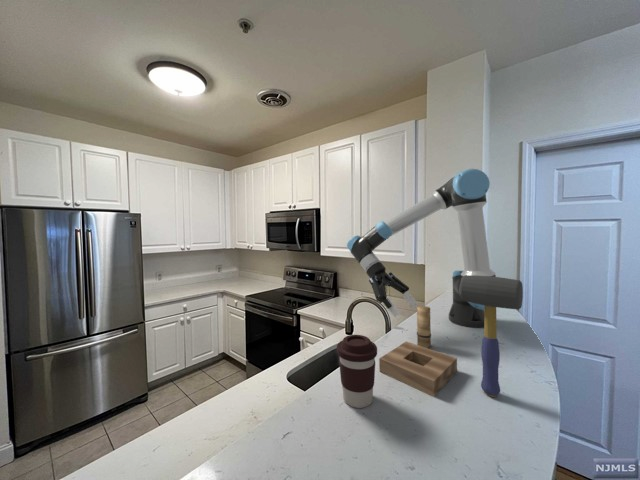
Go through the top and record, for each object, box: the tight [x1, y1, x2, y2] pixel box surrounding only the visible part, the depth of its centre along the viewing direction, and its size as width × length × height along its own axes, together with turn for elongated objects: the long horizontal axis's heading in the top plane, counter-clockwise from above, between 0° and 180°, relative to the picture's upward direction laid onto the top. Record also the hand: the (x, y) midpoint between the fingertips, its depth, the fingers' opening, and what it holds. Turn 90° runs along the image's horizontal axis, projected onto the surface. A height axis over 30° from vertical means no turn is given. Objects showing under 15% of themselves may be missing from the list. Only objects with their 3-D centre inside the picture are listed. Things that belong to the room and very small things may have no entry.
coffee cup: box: [336, 334, 378, 409], centre depth 62 cm, size 10×10×15 cm
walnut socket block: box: [378, 341, 458, 398], centre depth 74 cm, size 16×16×4 cm
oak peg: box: [416, 305, 432, 349], centre depth 89 cm, size 5×5×14 cm
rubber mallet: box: [460, 275, 524, 398], centre depth 62 cm, size 12×8×30 cm, turn 45°
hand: (407, 310), depth 93 cm, fingers open, 13 cm apart
